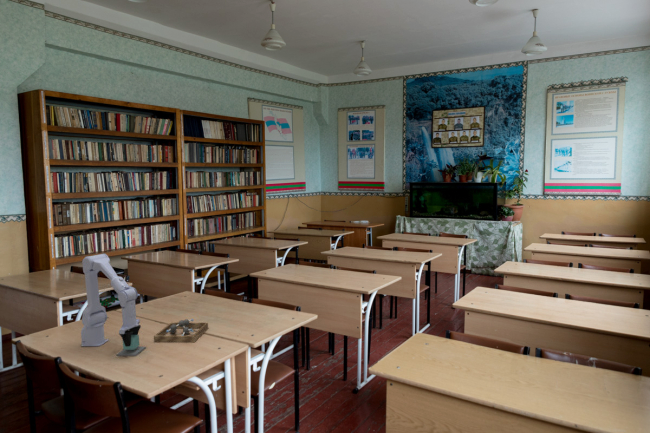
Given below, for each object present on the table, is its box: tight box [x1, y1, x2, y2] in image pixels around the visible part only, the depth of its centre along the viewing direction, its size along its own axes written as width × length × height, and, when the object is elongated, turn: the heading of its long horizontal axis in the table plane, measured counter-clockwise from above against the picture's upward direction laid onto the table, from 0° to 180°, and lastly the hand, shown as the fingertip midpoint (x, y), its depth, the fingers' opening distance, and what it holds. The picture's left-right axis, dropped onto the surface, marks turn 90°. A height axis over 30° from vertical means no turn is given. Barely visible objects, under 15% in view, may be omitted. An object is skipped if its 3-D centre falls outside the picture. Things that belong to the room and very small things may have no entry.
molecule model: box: [166, 318, 194, 336], centre depth 223 cm, size 15×9×11 cm
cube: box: [122, 334, 140, 350], centre depth 199 cm, size 5×5×5 cm
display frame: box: [153, 321, 209, 343], centre depth 220 cm, size 20×20×3 cm
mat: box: [116, 346, 147, 357], centre depth 199 cm, size 9×9×1 cm
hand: (130, 343), depth 199 cm, fingers closed on cube, 5 cm apart
